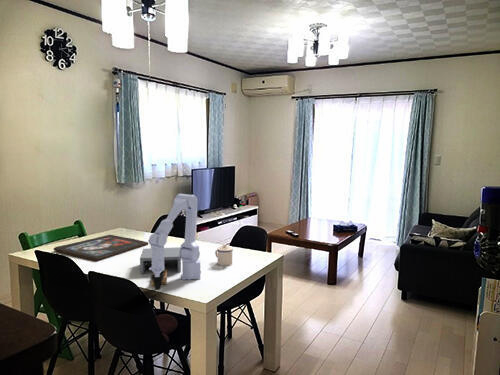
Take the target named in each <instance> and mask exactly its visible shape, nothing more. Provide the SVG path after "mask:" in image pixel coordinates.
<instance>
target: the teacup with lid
mask: <svg viewBox="0 0 500 375" xmlns="http://www.w3.org/2000/svg"><path fill="white" fill-rule="evenodd" d="M214 252H215V253H214V254H215V257H216V258H217V265H218V266H221V267H227V266H232V264H233V248H232V246H229V245H227V243H224V244H223V245H221V246H219V247H217V248H216V250H215V251H214Z"/></svg>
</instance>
